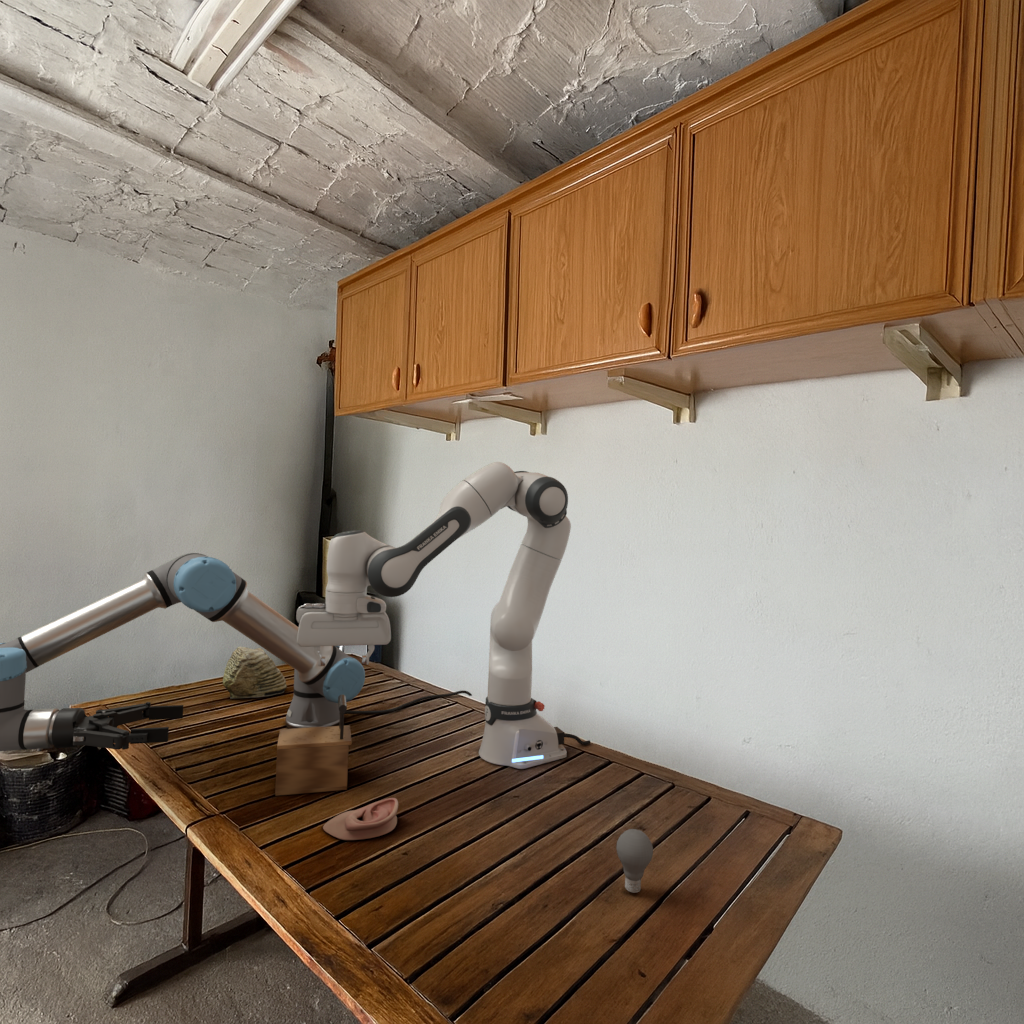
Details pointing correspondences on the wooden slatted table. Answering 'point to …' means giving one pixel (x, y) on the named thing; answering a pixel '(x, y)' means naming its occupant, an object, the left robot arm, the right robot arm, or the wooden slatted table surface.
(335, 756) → the chest
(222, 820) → the wooden slatted table surface
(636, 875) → the light bulb
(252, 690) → the fossil
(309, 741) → the lid
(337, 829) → the anatomical model
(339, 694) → the left robot arm
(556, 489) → the right robot arm
